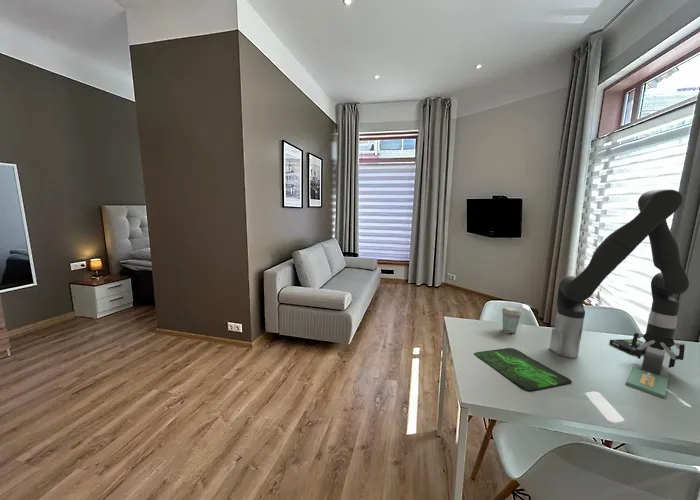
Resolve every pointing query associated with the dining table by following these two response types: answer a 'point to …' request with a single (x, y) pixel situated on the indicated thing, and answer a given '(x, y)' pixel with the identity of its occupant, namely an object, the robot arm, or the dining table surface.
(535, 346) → the dining table surface
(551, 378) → the mouse mat
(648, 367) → the block
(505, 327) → the coffee cup
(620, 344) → the disk drive
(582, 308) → the robot arm
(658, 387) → the green flat rectangular block
